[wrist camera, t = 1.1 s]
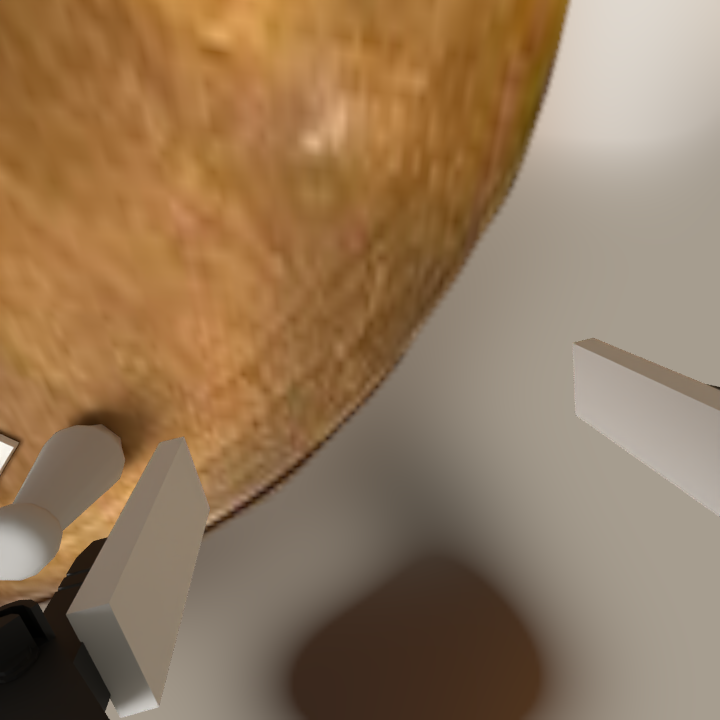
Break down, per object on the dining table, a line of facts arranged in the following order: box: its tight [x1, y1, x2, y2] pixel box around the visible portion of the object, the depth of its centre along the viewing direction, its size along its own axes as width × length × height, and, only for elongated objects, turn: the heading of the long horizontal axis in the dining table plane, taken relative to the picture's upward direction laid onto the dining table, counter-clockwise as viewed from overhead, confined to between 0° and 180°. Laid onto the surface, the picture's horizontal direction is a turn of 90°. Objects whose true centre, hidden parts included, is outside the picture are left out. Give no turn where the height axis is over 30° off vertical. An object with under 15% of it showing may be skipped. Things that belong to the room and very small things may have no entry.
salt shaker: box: [0, 424, 125, 580], centre depth 32 cm, size 6×6×13 cm
